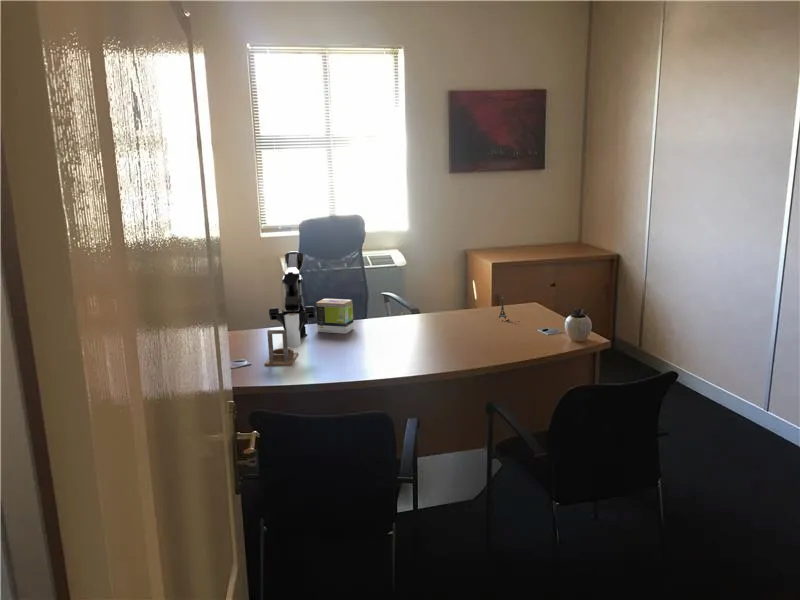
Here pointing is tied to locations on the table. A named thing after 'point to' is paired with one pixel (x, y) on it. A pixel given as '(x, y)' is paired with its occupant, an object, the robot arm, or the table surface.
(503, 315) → the eiffel tower figurine
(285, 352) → the stand
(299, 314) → the robot arm
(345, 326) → the tea box
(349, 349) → the table surface
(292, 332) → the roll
